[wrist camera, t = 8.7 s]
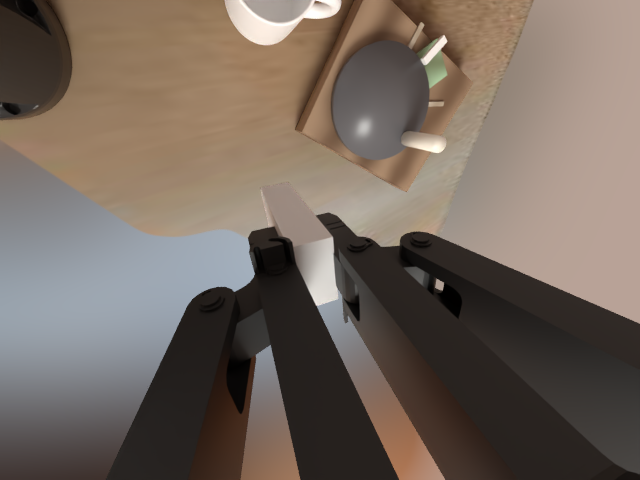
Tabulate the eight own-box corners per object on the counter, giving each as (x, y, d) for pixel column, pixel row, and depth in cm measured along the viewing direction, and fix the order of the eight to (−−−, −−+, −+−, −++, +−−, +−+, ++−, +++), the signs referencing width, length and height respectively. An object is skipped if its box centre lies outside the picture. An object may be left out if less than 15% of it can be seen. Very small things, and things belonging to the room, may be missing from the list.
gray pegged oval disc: (373, 178, 41) (402, 192, 34) (309, 105, 34) (330, 105, 27) (458, 85, 38) (508, 81, 32) (409, -14, 31) (460, -47, 25)
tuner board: (295, 129, 38) (302, 132, 35) (359, -11, 34) (375, -26, 30) (393, 186, 48) (407, 192, 44) (455, 81, 43) (477, 79, 39)
